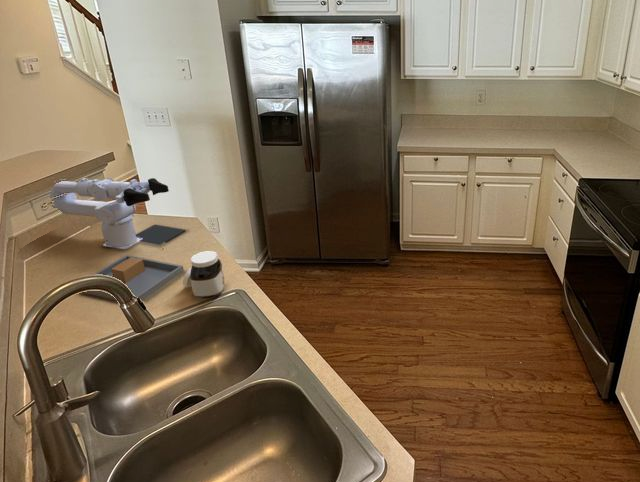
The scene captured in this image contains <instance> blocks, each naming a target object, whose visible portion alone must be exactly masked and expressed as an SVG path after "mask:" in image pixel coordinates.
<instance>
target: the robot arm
mask: <svg viewBox="0 0 640 482" xmlns="http://www.w3.org/2000/svg"><path fill="white" fill-rule="evenodd" d="M149 192H151V193H152V196H155V195H158V194H164V193H168V192H170V189H169V187H168V185H167V184H164V183H161V182H160V181H158V180H157V179H156V178H154V177H151V178H148V179H147V181H138V179H135V178H134V179H131V180H129V181H118V180H117V181H116V180H115V179H112V178H109V177H106V178H104V179H102V180H99V179H98V178H95V179H88V178H87V177H84V178H81V179H80V180H78V181H68V180H67V181H61V182H59V183H56V184H55V185H54V186H53V188H52V190H51V193H50V198H52V197H56V196H59V195H61V194H64V193H68V194H65V195H63V196H60V197H57V198H54V205H52V207H53V208H58V209H59V210H60V211H61V212H62V213H61V212H60V213H61V214H63V215H71V216H72V215H73V216H82V217H83V216H84V217H95V218H96V220H97V221H98V222H100V223H101V222H102V223H101V228H100V229H101V232H102V236H103V240H104V243H103V245H102V246H103V247H107V248H111V249H112V248H116V249H121V250H126V249H128V248H130V247H131V246H134V245H135V244H136V243H138V242H140V241H139V240H142V239H143V238H141V239H139V238H138V237H136V234H137V233H136V229H135V225H134V221H133V218H134V217H135V215H134V214H135V213H136V210H137V207H136V204H140V203H145V202H148V201H151V199H150V198H151V197H150V195H149ZM76 194H77V195H76ZM77 196H79V197H85V198H94V199H96V200H88V199H87V200H85V199H78V197H77ZM104 199H114V200H109V201H103V200H104ZM137 238H138V239H137Z"/></svg>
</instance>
